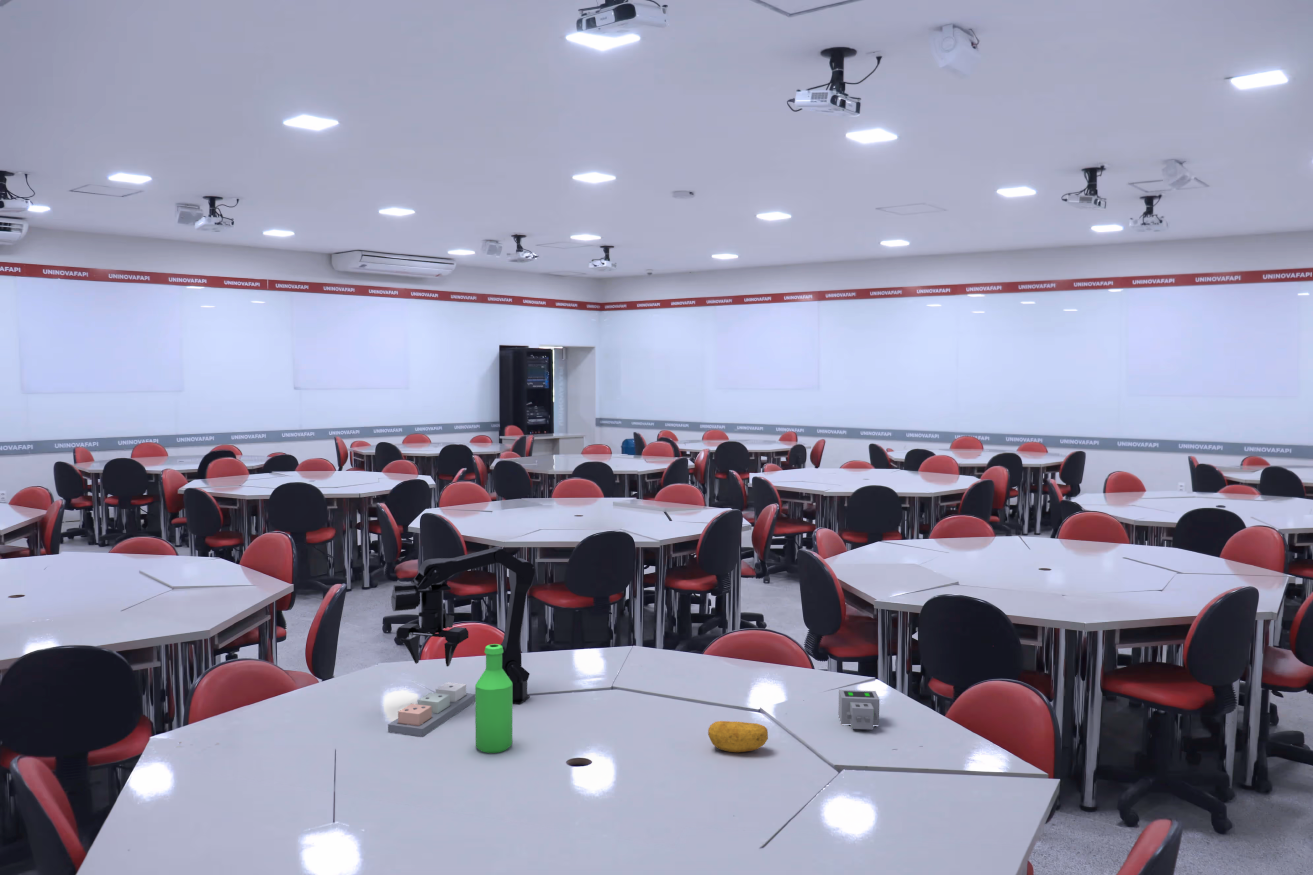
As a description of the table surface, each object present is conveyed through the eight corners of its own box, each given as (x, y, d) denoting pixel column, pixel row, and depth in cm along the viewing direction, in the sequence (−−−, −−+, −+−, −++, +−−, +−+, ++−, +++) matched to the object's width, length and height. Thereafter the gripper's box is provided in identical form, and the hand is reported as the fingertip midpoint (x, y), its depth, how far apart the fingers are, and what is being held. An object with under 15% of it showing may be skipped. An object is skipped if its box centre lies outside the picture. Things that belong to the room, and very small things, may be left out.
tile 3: (431, 717, 222) (431, 705, 222) (418, 725, 217) (418, 713, 217) (411, 714, 224) (411, 703, 224) (398, 722, 218) (398, 711, 218)
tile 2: (449, 705, 231) (449, 694, 231) (437, 713, 225) (437, 701, 225) (429, 703, 233) (429, 692, 233) (417, 710, 227) (417, 699, 227)
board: (475, 700, 241) (475, 693, 241) (422, 736, 215) (422, 728, 215) (443, 697, 243) (443, 690, 243) (387, 731, 218) (387, 724, 218)
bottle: (468, 750, 207) (467, 647, 206) (491, 737, 214) (490, 638, 213) (497, 757, 203) (497, 652, 202) (519, 744, 210) (519, 643, 209)
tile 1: (466, 694, 240) (466, 683, 240) (455, 702, 234) (455, 690, 234) (447, 692, 241) (447, 681, 241) (435, 699, 236) (435, 688, 235)
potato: (767, 759, 203) (767, 729, 203) (706, 754, 205) (706, 725, 205) (768, 747, 210) (768, 718, 210) (709, 742, 212) (709, 714, 212)
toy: (844, 704, 219) (837, 685, 234) (843, 734, 219) (836, 712, 234) (883, 706, 218) (873, 686, 233) (882, 735, 218) (873, 714, 233)
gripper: (477, 602, 236) (477, 658, 236) (416, 598, 240) (416, 653, 241) (458, 612, 225) (458, 670, 225) (394, 607, 229) (395, 665, 230)
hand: (432, 664), depth 231 cm, fingers open, 9 cm apart
